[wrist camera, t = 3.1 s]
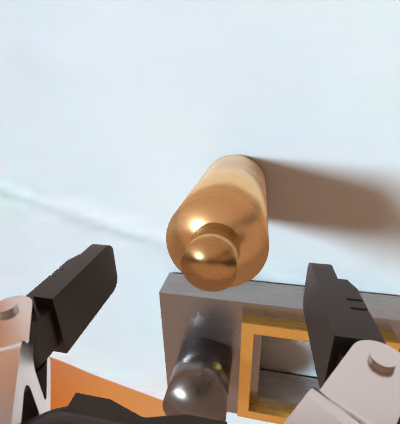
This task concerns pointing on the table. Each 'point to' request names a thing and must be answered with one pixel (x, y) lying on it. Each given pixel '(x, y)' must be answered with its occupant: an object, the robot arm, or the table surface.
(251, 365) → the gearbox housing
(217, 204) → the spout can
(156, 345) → the table surface
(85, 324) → the robot arm
